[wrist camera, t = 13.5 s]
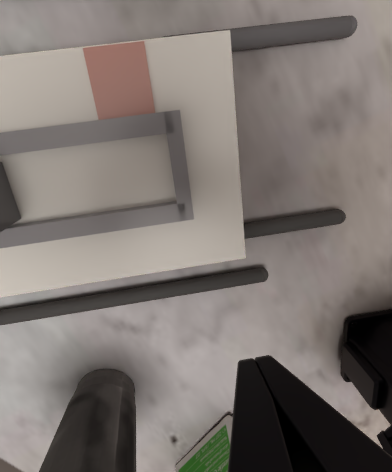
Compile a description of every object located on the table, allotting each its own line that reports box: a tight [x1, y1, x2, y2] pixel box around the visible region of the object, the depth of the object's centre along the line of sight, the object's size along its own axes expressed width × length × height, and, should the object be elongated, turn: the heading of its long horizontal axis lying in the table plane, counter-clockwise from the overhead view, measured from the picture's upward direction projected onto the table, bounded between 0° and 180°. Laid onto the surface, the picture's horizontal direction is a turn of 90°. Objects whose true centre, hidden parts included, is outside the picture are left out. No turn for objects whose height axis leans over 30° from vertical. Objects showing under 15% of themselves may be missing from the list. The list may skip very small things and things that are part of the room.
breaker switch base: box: [0, 30, 246, 297], centre depth 16 cm, size 19×12×3 cm, turn 97°
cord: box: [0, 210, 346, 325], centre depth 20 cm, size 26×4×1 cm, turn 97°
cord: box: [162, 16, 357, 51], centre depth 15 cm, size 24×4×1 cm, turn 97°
